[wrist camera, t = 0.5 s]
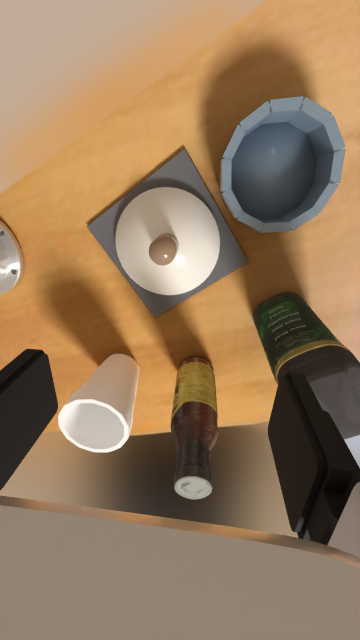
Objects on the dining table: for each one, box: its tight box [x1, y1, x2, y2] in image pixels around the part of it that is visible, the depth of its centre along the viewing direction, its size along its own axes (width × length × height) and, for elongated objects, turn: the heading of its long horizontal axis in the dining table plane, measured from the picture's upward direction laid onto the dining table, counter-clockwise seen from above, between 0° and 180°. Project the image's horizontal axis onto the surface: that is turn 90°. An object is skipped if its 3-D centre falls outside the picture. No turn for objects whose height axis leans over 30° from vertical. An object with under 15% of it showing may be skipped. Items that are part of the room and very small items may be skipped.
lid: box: [115, 187, 220, 295], centre depth 34 cm, size 14×14×6 cm
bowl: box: [219, 96, 345, 233], centre depth 30 cm, size 12×12×6 cm
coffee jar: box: [254, 293, 360, 439], centre depth 32 cm, size 10×8×19 cm
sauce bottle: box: [171, 357, 218, 499], centre depth 36 cm, size 6×6×20 cm
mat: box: [87, 149, 248, 317], centre depth 37 cm, size 16×16×1 cm
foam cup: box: [58, 354, 139, 452], centre depth 41 cm, size 10×9×13 cm
